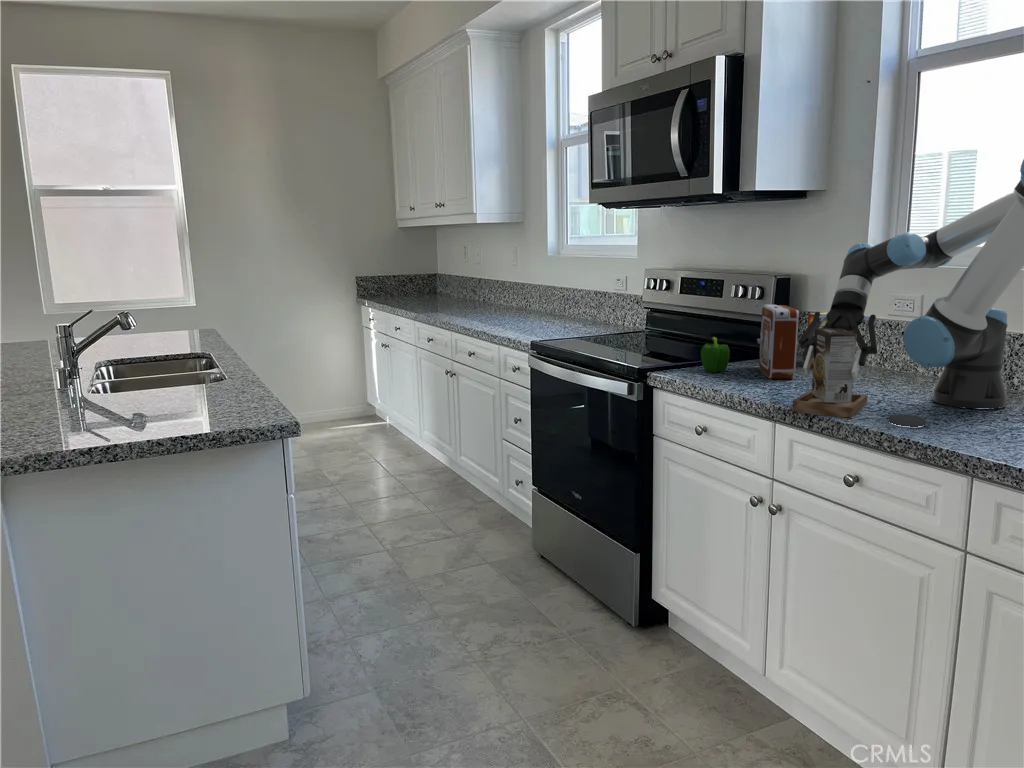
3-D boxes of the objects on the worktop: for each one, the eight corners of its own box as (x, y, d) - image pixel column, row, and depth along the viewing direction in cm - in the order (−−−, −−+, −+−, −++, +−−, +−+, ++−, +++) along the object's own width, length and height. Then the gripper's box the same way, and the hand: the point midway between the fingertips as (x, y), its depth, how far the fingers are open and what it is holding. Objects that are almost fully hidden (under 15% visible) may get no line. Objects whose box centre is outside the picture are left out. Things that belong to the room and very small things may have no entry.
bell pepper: (727, 374, 219) (728, 340, 217) (698, 373, 222) (699, 339, 220) (730, 369, 227) (731, 336, 225) (702, 367, 230) (703, 335, 228)
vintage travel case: (782, 367, 228) (785, 301, 224) (799, 380, 209) (804, 308, 205) (750, 367, 229) (754, 301, 225) (765, 380, 210) (769, 308, 206)
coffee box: (810, 394, 182) (814, 327, 179) (837, 393, 182) (841, 327, 178) (824, 403, 173) (828, 333, 170) (852, 402, 173) (857, 332, 169)
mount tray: (866, 405, 180) (867, 395, 179) (851, 418, 168) (852, 407, 168) (810, 398, 187) (811, 388, 187) (792, 411, 176) (792, 400, 175)
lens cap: (929, 424, 163) (930, 417, 163) (918, 430, 158) (919, 424, 158) (895, 419, 168) (895, 413, 168) (883, 425, 163) (884, 418, 163)
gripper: (902, 310, 179) (884, 387, 170) (805, 306, 192) (782, 377, 183) (900, 290, 173) (881, 368, 164) (800, 287, 187) (777, 359, 177)
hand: (829, 373), depth 174 cm, fingers closed on coffee box, 10 cm apart
